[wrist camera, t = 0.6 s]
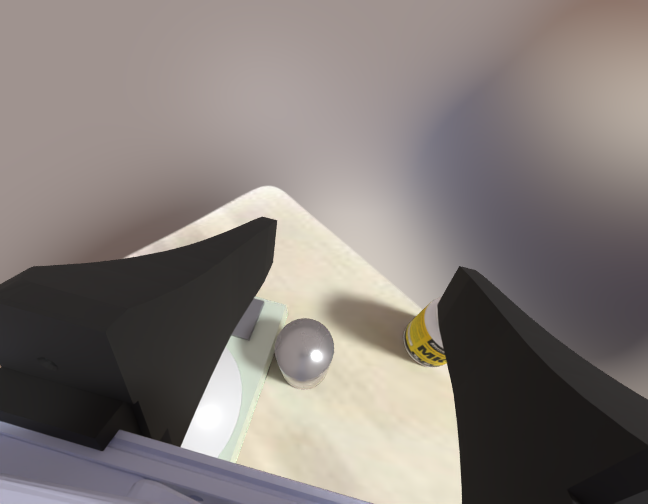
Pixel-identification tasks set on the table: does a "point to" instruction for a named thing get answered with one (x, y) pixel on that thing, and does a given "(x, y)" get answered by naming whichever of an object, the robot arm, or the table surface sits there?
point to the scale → (236, 383)
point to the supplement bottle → (425, 337)
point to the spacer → (304, 352)
